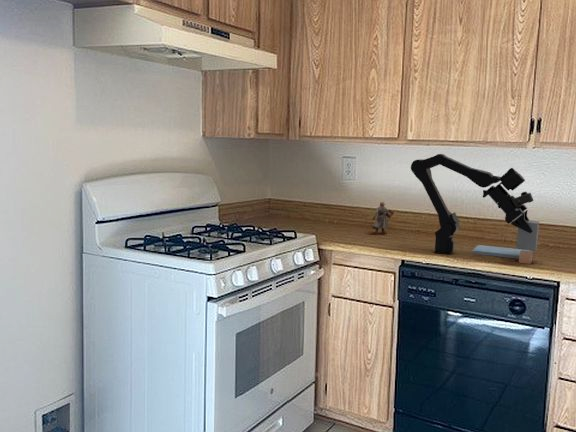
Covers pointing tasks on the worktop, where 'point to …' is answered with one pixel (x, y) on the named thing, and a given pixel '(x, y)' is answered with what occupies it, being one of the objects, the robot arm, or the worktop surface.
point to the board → (497, 251)
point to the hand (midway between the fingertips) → (532, 231)
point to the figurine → (381, 218)
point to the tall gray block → (528, 237)
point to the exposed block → (525, 257)
